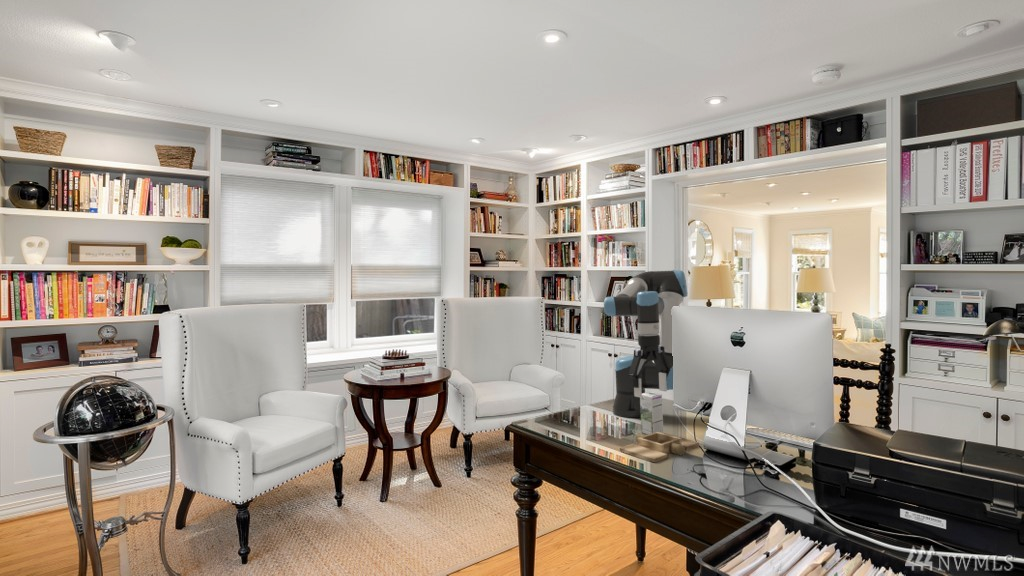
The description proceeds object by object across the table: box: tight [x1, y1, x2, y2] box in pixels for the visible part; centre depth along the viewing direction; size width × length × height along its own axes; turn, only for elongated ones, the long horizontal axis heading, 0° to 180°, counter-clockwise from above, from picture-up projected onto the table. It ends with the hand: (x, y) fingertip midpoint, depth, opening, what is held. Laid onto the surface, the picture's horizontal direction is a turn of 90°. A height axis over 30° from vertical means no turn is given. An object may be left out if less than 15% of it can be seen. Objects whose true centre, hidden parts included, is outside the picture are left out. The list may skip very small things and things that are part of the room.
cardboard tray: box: [619, 432, 700, 463], centre depth 176 cm, size 18×23×4 cm
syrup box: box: [640, 391, 665, 435], centre depth 192 cm, size 6×6×14 cm
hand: (650, 393), depth 192 cm, fingers open, 13 cm apart
